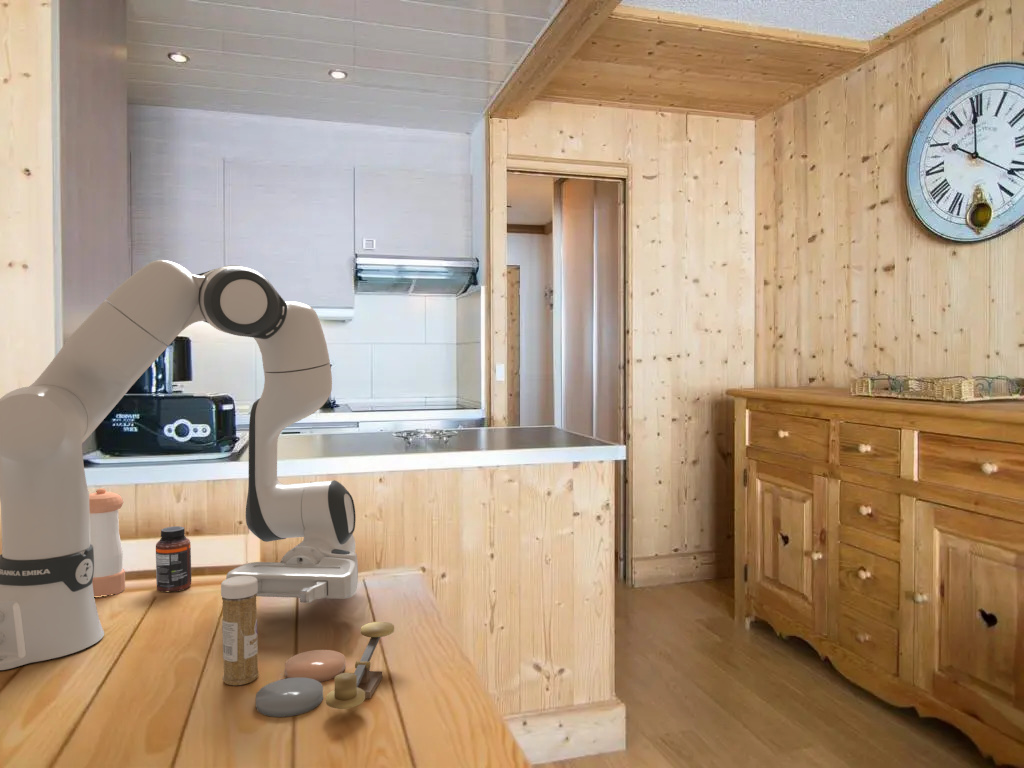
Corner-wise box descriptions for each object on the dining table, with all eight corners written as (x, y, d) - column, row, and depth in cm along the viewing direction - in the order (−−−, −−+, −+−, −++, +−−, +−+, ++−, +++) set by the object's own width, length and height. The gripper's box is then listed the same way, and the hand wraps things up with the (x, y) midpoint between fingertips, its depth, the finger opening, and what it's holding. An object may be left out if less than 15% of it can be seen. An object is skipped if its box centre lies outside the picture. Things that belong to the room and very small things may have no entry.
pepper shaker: (88, 586, 134) (87, 485, 134) (130, 584, 136) (129, 484, 135) (72, 599, 127) (71, 492, 126) (117, 596, 128) (115, 491, 128)
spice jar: (262, 681, 94) (261, 581, 94) (226, 690, 92) (225, 587, 91) (253, 668, 98) (252, 572, 98) (218, 677, 96) (217, 578, 95)
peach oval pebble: (275, 682, 94) (275, 673, 94) (298, 657, 102) (298, 648, 102) (334, 684, 94) (334, 675, 94) (352, 658, 102) (352, 650, 101)
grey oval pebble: (244, 715, 85) (244, 705, 85) (272, 685, 93) (272, 676, 93) (309, 718, 85) (309, 708, 85) (331, 687, 93) (331, 678, 93)
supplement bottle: (178, 581, 137) (178, 523, 137) (198, 586, 134) (197, 527, 134) (149, 590, 132) (148, 529, 132) (169, 595, 129) (168, 533, 129)
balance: (320, 723, 83) (320, 679, 83) (366, 656, 102) (366, 621, 102) (358, 724, 83) (358, 681, 83) (397, 657, 102) (397, 622, 102)
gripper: (247, 549, 120) (206, 573, 107) (365, 552, 119) (339, 577, 105) (247, 586, 121) (206, 615, 107) (366, 589, 119) (339, 619, 105)
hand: (273, 596), depth 106 cm, fingers open, 8 cm apart
